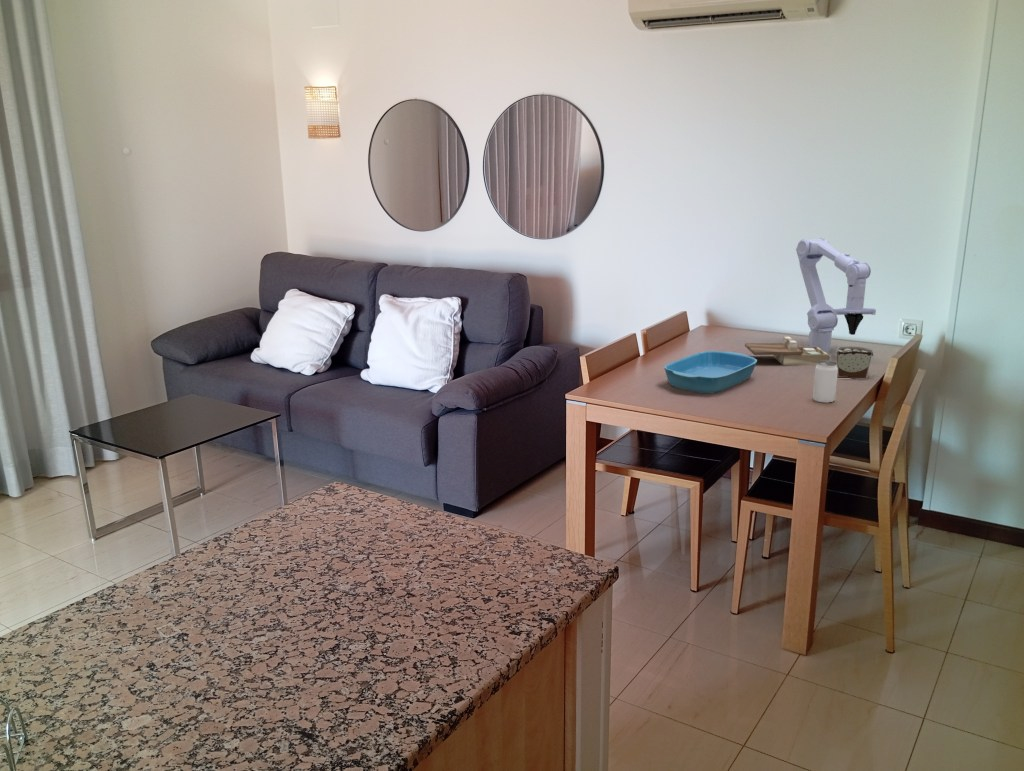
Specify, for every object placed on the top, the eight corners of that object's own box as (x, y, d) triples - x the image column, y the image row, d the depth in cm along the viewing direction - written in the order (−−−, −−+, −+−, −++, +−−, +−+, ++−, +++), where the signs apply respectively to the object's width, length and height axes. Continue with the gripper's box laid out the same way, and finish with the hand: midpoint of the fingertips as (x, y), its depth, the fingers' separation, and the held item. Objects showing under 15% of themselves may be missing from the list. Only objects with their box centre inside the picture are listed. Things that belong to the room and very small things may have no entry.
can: (809, 397, 253) (812, 360, 250) (829, 396, 254) (832, 360, 250) (818, 403, 247) (821, 365, 244) (838, 402, 247) (842, 365, 244)
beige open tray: (773, 358, 302) (774, 346, 300) (816, 358, 301) (817, 346, 300) (783, 367, 289) (784, 355, 288) (828, 367, 289) (829, 354, 287)
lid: (744, 346, 301) (745, 335, 300) (790, 345, 301) (791, 335, 300) (754, 354, 288) (754, 344, 287) (802, 354, 287) (803, 343, 286)
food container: (865, 374, 279) (868, 346, 276) (870, 378, 273) (874, 350, 270) (828, 373, 280) (831, 345, 277) (833, 378, 274) (836, 350, 271)
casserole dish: (712, 401, 252) (713, 379, 250) (652, 388, 267) (652, 367, 265) (766, 377, 278) (767, 357, 276) (708, 366, 293) (709, 347, 291)
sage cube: (805, 361, 293) (806, 352, 292) (814, 360, 294) (815, 351, 293) (811, 364, 290) (812, 354, 289) (820, 363, 291) (821, 353, 290)
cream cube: (802, 357, 300) (802, 347, 299) (811, 357, 300) (812, 347, 299) (805, 359, 296) (806, 350, 295) (815, 359, 296) (815, 350, 295)
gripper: (839, 299, 285) (835, 336, 289) (880, 298, 285) (876, 336, 288) (832, 295, 292) (828, 332, 296) (872, 295, 291) (869, 332, 295)
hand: (852, 334), depth 292 cm, fingers closed
